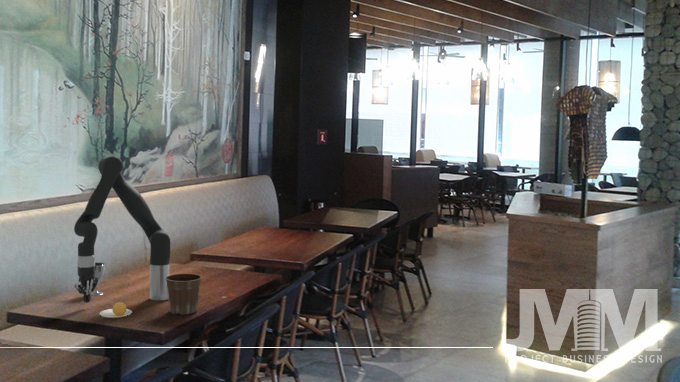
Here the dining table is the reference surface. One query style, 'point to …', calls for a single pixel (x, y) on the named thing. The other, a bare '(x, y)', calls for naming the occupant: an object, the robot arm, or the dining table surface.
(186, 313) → the plant pot
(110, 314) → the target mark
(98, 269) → the wine glass
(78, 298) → the dining table surface
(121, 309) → the ball
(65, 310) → the dining table surface
